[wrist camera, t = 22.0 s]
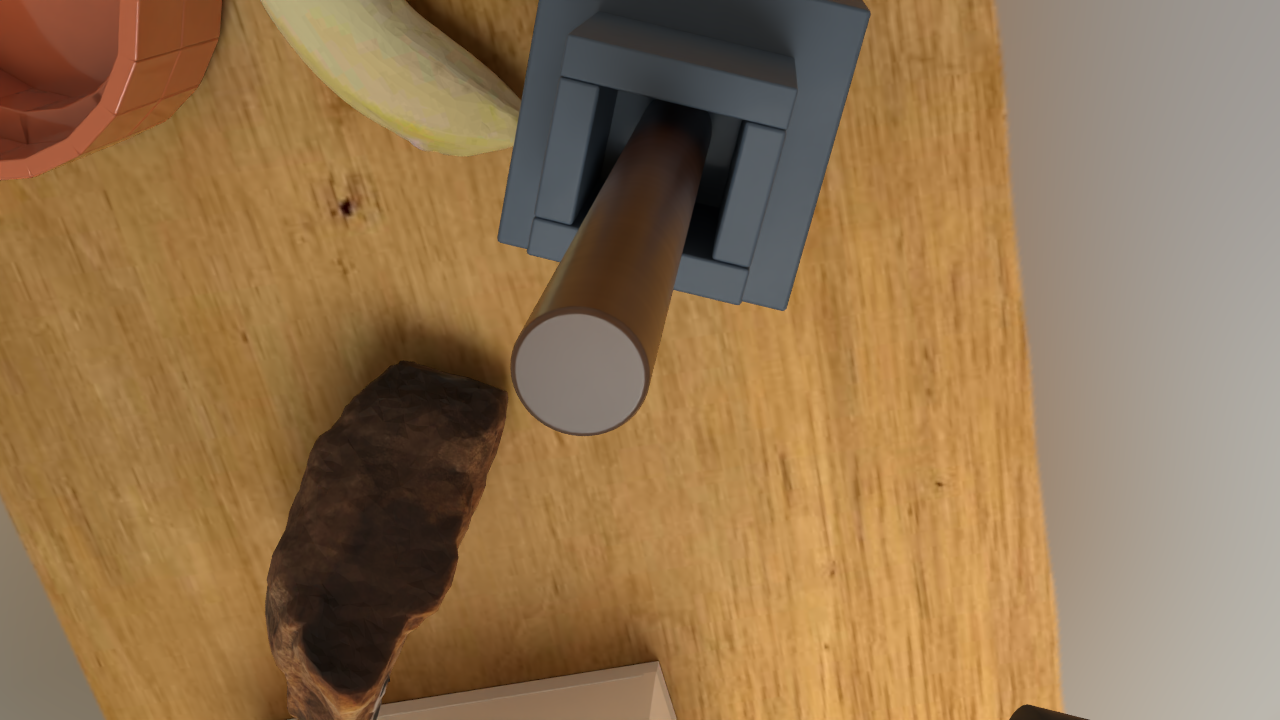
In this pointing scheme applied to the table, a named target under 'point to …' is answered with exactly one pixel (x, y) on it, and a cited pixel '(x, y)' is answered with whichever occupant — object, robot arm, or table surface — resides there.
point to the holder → (699, 78)
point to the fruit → (401, 73)
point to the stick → (615, 282)
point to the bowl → (94, 74)
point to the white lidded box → (552, 699)
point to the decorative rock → (377, 534)
